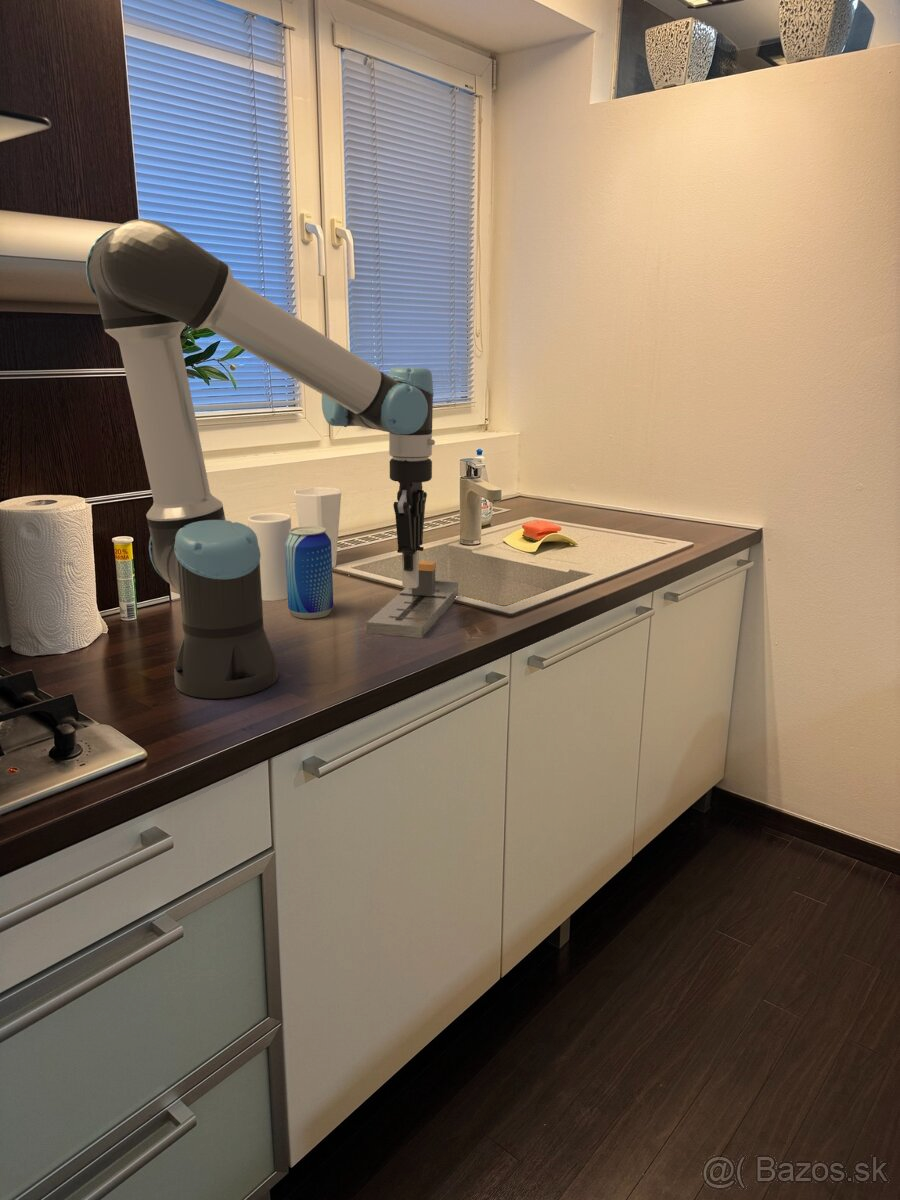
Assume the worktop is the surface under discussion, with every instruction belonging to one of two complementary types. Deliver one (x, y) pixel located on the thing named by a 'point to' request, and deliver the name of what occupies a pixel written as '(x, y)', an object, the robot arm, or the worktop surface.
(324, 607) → the beer can
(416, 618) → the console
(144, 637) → the worktop surface
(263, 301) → the robot arm
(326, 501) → the cup
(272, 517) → the cup
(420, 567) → the fader
